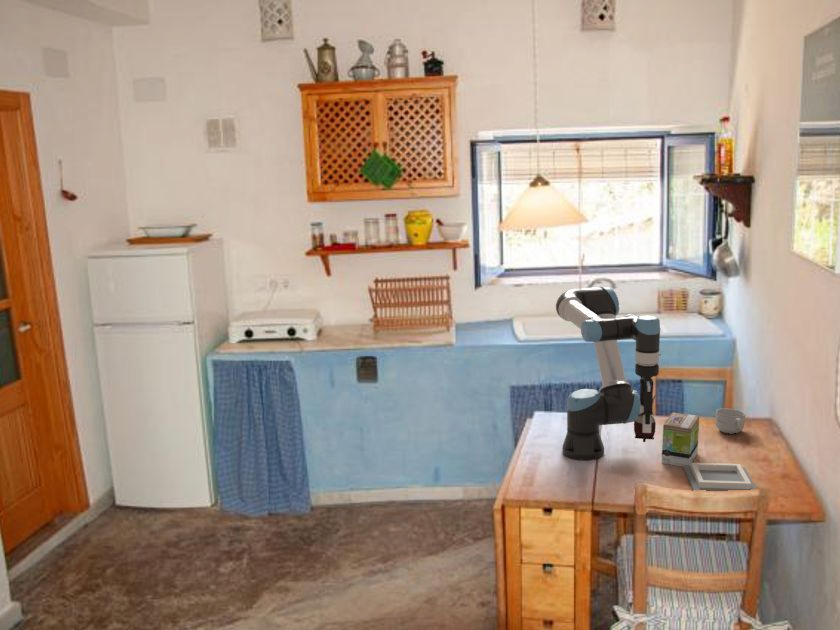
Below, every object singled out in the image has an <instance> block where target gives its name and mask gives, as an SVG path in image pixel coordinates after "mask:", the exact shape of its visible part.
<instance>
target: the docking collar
mask: <svg viewBox="0 0 840 630" xmlns="http://www.w3.org/2000/svg"><path fill="white" fill-rule="evenodd" d="M683 469H684V472H685V475H686V477H687V479H688V482H689V485H690V487H691V490H692V491H693V490H706V491H728V490H751V489H758V488H757V486H756V484H755V483H754V481H753V479H752V477H751V476H750V474H749V472H748V471H747V469H746V467H745V466H742V465H741V464H740V463H726V462H725V463H724V462H723V463H722V462H721V463H720V462H719V463H717V462H713V463H712V462H692V463H691V465H690V466H684V467H683Z"/></svg>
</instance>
